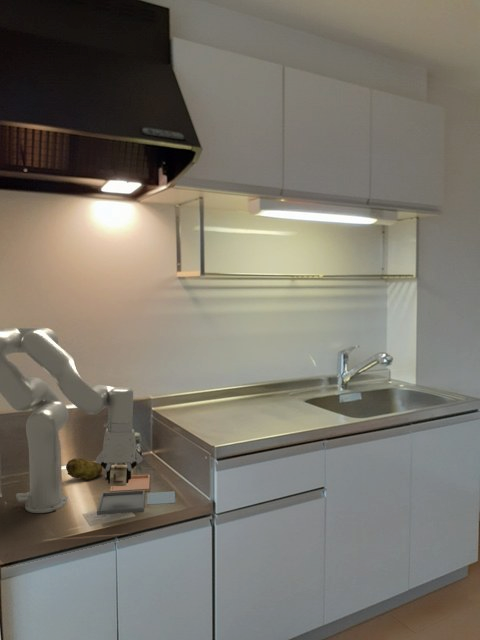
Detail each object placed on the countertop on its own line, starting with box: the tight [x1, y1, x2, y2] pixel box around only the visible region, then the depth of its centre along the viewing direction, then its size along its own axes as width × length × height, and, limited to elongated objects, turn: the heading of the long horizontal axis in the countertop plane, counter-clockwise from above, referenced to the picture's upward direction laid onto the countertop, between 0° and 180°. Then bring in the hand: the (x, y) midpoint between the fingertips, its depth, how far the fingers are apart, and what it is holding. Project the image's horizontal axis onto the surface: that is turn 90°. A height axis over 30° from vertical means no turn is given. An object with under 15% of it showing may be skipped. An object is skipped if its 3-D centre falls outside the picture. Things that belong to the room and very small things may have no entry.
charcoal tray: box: [96, 490, 146, 515], centre depth 161 cm, size 14×14×2 cm
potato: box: [65, 457, 103, 481], centre depth 183 cm, size 8×13×8 cm, turn 111°
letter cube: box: [109, 464, 127, 487], centre depth 160 cm, size 5×5×5 cm
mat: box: [146, 490, 176, 506], centre depth 165 cm, size 9×9×1 cm
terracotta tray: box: [109, 474, 151, 493], centre depth 176 cm, size 13×13×2 cm
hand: (118, 481), depth 161 cm, fingers closed on letter cube, 4 cm apart
